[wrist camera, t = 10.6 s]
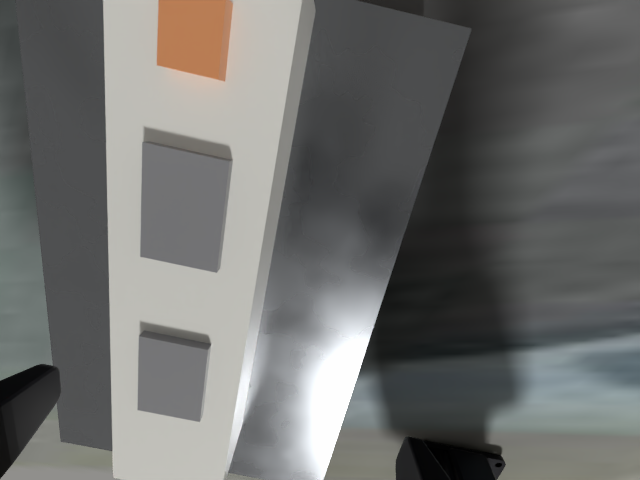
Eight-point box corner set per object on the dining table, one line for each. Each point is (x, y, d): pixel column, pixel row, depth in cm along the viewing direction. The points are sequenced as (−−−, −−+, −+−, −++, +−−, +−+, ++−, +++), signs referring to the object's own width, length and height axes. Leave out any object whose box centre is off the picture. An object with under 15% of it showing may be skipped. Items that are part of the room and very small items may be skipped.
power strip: (254, 381, 19) (216, 511, 13) (180, 367, 19) (104, 490, 13) (319, 33, 13) (305, -45, 7) (208, 6, 13) (84, -101, 6)
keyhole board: (323, 400, 23) (320, 489, 18) (127, 361, 23) (60, 441, 17) (422, 59, 16) (471, 28, 10) (128, -12, 15) (6, -86, 9)
